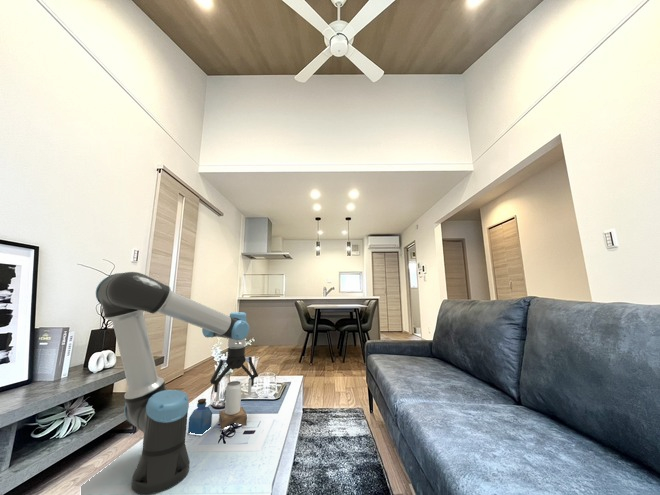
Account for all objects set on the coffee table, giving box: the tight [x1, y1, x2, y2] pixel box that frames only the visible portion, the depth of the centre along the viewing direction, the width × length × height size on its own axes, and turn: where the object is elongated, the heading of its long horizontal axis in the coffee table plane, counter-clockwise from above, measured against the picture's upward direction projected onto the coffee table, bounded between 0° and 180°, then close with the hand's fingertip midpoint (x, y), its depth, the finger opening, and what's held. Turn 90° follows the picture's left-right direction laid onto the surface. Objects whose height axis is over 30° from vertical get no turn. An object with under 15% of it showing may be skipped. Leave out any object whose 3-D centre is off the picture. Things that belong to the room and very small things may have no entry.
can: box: [224, 380, 242, 415], centre depth 119 cm, size 6×6×12 cm
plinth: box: [218, 406, 248, 429], centre depth 117 cm, size 10×10×4 cm
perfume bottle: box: [187, 398, 213, 434], centre depth 111 cm, size 6×6×12 cm
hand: (233, 397), depth 119 cm, fingers open, 13 cm apart
